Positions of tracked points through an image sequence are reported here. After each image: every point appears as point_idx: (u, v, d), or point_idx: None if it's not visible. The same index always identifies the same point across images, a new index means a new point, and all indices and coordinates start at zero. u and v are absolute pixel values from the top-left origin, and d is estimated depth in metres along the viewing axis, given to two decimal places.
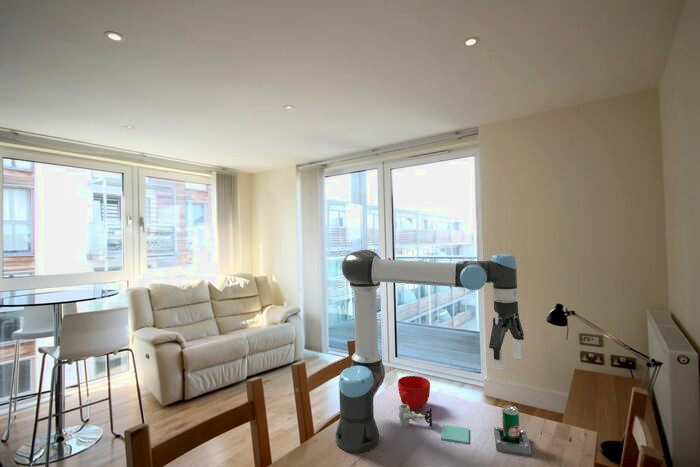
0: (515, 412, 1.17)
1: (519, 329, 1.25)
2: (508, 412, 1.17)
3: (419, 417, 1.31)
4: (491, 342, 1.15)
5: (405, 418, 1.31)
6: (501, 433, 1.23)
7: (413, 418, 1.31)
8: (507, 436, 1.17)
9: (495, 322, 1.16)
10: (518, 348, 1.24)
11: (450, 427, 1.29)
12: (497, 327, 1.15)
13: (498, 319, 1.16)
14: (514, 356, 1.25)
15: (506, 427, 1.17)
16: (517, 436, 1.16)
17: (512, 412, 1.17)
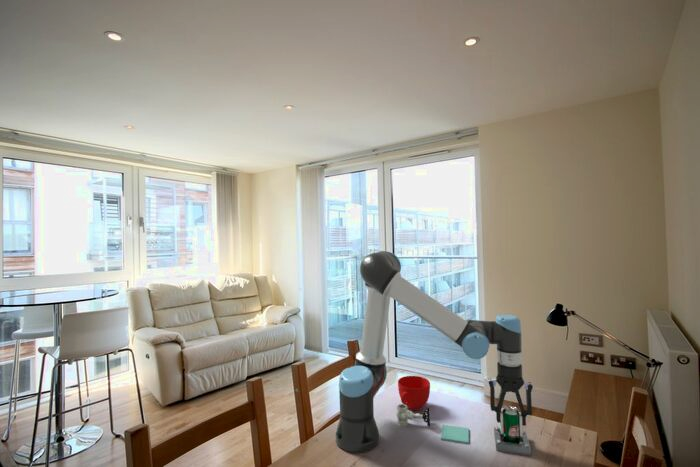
0: (515, 412, 1.17)
1: (527, 404, 1.16)
2: (508, 412, 1.17)
3: (417, 417, 1.32)
4: (490, 402, 1.21)
5: (403, 418, 1.31)
6: None
7: (411, 418, 1.31)
8: (507, 436, 1.17)
9: None
10: (519, 424, 1.17)
11: (450, 427, 1.29)
12: (490, 389, 1.20)
13: (488, 381, 1.20)
14: None
15: (506, 427, 1.17)
16: (517, 436, 1.16)
17: (512, 412, 1.17)
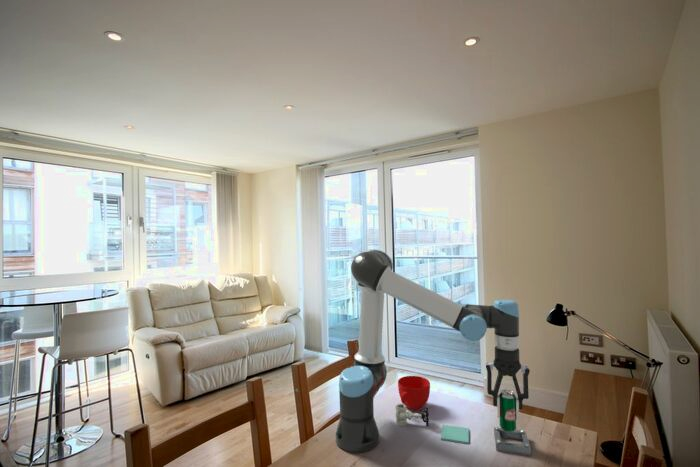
0: (511, 396, 1.17)
1: (524, 388, 1.17)
2: (505, 396, 1.17)
3: (416, 416, 1.32)
4: (487, 387, 1.21)
5: (402, 418, 1.31)
6: (501, 433, 1.23)
7: (410, 417, 1.32)
8: (503, 419, 1.17)
9: None
10: (516, 408, 1.17)
11: (450, 427, 1.29)
12: (487, 373, 1.20)
13: (486, 365, 1.20)
14: None
15: (502, 411, 1.18)
16: (513, 420, 1.17)
17: (509, 396, 1.17)
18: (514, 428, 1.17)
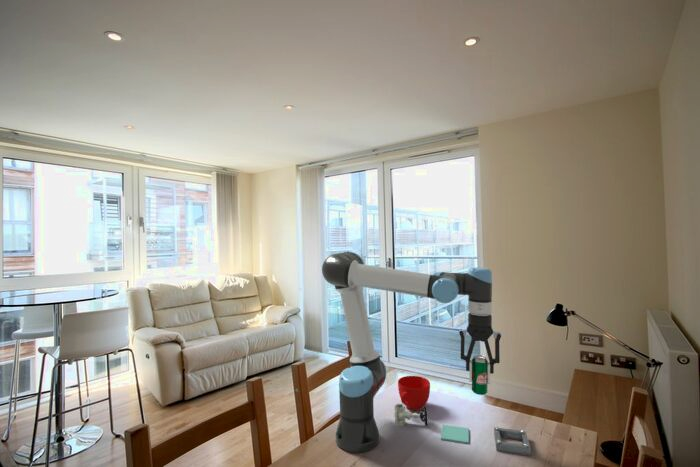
0: (483, 360, 1.20)
1: (495, 352, 1.20)
2: (477, 360, 1.20)
3: (414, 416, 1.32)
4: None
5: (401, 418, 1.32)
6: (501, 433, 1.23)
7: (408, 417, 1.32)
8: (475, 383, 1.21)
9: None
10: None
11: (450, 427, 1.29)
12: (461, 339, 1.23)
13: None
14: None
15: (474, 375, 1.21)
16: (485, 383, 1.20)
17: (481, 360, 1.20)
18: (485, 391, 1.20)
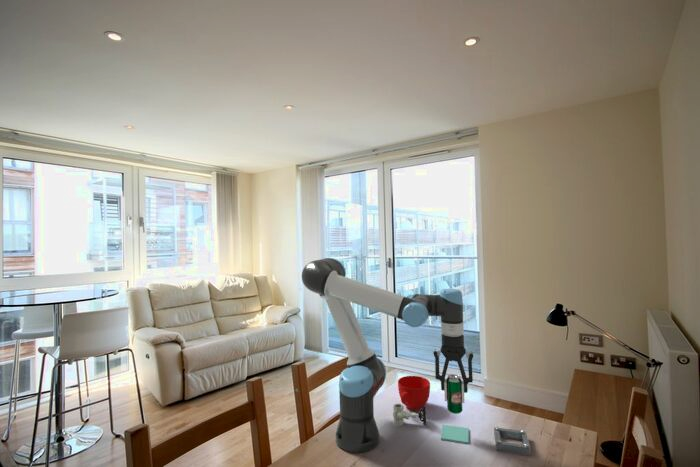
0: (457, 379, 1.23)
1: None
2: (451, 380, 1.24)
3: (413, 416, 1.32)
4: None
5: (399, 417, 1.32)
6: (501, 433, 1.23)
7: (407, 417, 1.32)
8: (450, 402, 1.24)
9: None
10: None
11: (450, 427, 1.29)
12: (435, 359, 1.27)
13: (433, 352, 1.27)
14: None
15: (449, 394, 1.24)
16: (459, 402, 1.23)
17: (454, 380, 1.23)
18: (460, 410, 1.23)
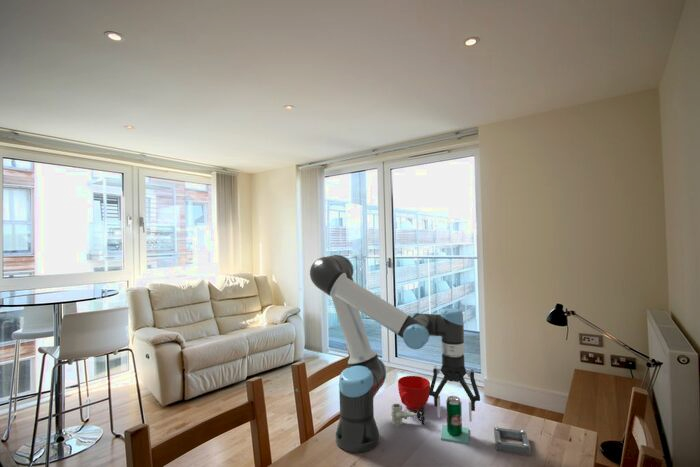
0: (457, 402, 1.23)
1: (474, 391, 1.22)
2: (451, 402, 1.24)
3: (411, 416, 1.33)
4: None
5: (398, 417, 1.32)
6: (501, 433, 1.23)
7: (406, 417, 1.32)
8: (450, 424, 1.24)
9: None
10: (469, 409, 1.23)
11: None
12: (433, 376, 1.27)
13: (433, 369, 1.27)
14: None
15: (448, 417, 1.24)
16: (459, 425, 1.23)
17: (454, 402, 1.23)
18: (460, 433, 1.23)
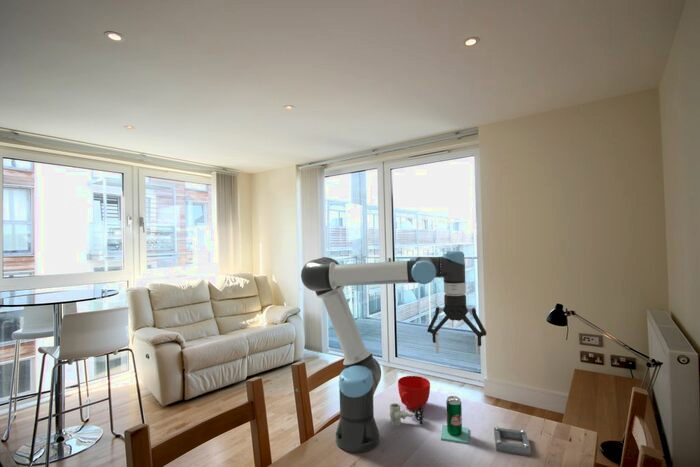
0: (457, 402, 1.23)
1: (479, 327, 1.25)
2: (451, 402, 1.24)
3: (410, 415, 1.33)
4: None
5: (396, 417, 1.32)
6: (501, 433, 1.23)
7: (404, 416, 1.32)
8: (450, 424, 1.24)
9: None
10: (475, 344, 1.25)
11: None
12: None
13: (436, 307, 1.30)
14: None
15: (448, 417, 1.24)
16: (459, 425, 1.23)
17: (454, 402, 1.23)
18: (460, 433, 1.23)
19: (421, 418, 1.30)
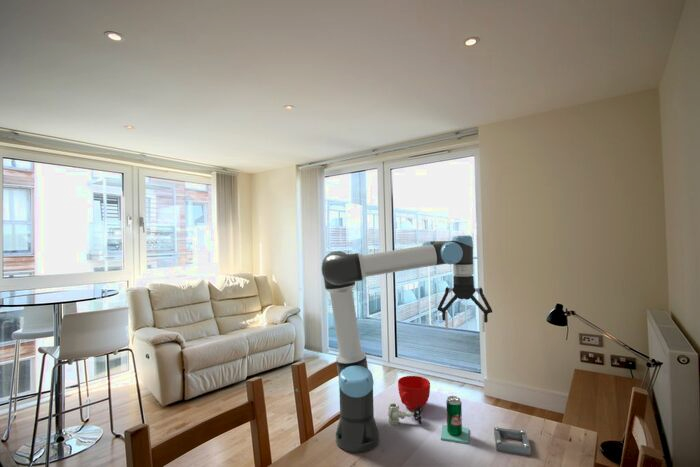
0: (457, 402, 1.23)
1: None
2: (451, 402, 1.24)
3: (408, 415, 1.33)
4: None
5: (395, 417, 1.32)
6: (501, 433, 1.23)
7: (402, 416, 1.33)
8: (450, 424, 1.24)
9: None
10: (482, 321, 1.36)
11: None
12: (444, 294, 1.41)
13: (446, 288, 1.41)
14: None
15: (448, 417, 1.24)
16: (459, 425, 1.23)
17: (454, 402, 1.23)
18: (460, 433, 1.23)
19: (420, 418, 1.30)
